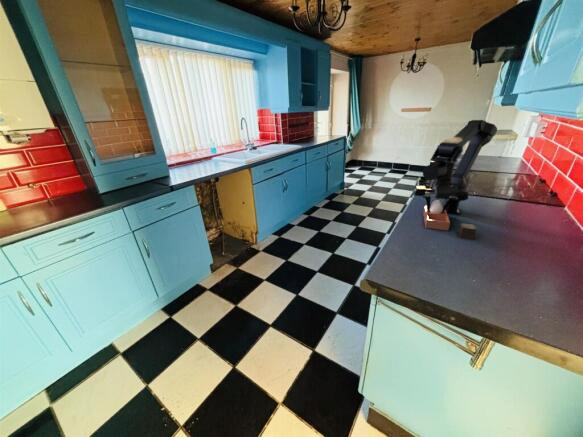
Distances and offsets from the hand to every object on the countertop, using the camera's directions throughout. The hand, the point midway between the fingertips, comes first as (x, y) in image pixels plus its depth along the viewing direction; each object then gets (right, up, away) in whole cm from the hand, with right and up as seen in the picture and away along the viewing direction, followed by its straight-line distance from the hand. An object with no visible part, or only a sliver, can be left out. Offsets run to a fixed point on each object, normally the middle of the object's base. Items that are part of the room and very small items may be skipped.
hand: (435, 211), depth 100 cm
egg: (0, -2, +1) cm, 2 cm away
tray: (-1, -4, -2) cm, 5 cm away
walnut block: (+3, -9, -13) cm, 17 cm away
